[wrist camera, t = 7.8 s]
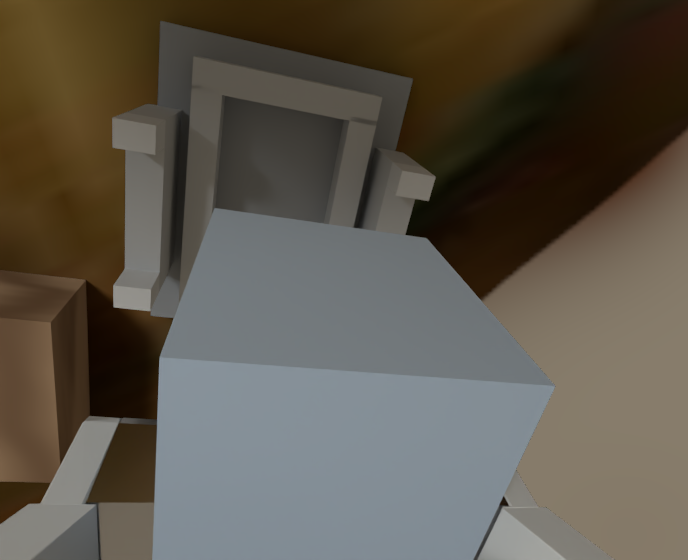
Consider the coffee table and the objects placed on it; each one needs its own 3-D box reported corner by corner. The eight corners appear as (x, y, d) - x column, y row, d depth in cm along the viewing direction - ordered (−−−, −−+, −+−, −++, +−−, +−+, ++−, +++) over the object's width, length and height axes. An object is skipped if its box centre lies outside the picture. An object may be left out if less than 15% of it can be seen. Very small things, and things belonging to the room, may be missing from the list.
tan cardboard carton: (18, 418, 27) (-25, 480, 23) (2, 268, 23) (-54, 312, 19) (91, 422, 28) (61, 482, 24) (87, 278, 24) (50, 322, 20)
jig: (155, 20, 19) (111, 6, 14) (415, 79, 22) (461, 87, 17) (147, 305, 25) (113, 373, 20) (354, 326, 28) (373, 391, 22)
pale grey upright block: (214, 207, 8) (159, 357, 4) (426, 238, 9) (555, 385, 5) (189, 518, 11) (144, 773, 7) (346, 518, 12) (384, 746, 8)
